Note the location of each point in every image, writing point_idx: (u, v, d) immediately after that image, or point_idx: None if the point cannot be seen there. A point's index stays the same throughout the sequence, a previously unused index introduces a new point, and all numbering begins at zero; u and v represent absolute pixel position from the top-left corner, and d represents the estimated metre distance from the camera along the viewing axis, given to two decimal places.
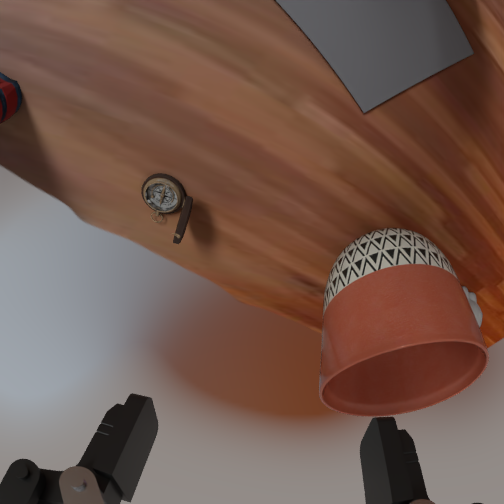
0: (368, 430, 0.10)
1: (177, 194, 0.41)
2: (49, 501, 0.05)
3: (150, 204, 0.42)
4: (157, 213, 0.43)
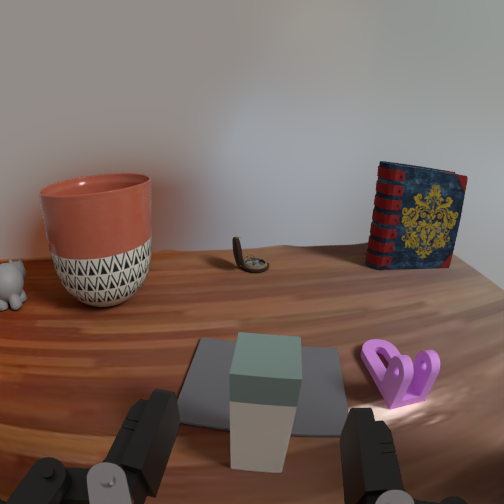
0: (347, 421, 0.10)
1: (247, 265, 0.69)
2: (75, 500, 0.06)
3: (258, 258, 0.72)
4: (251, 257, 0.73)
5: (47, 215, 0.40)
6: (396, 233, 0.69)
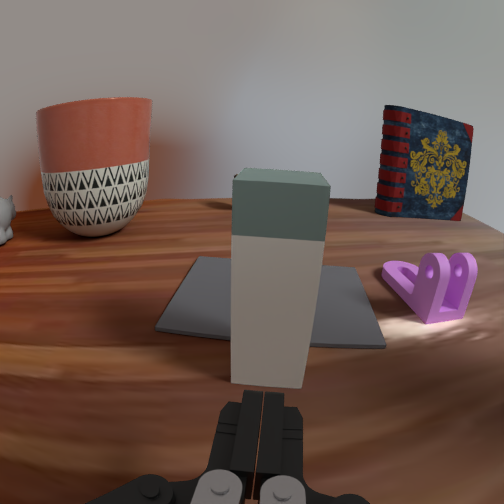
0: None
1: None
2: None
3: None
4: None
5: (42, 128, 0.36)
6: (405, 177, 0.64)
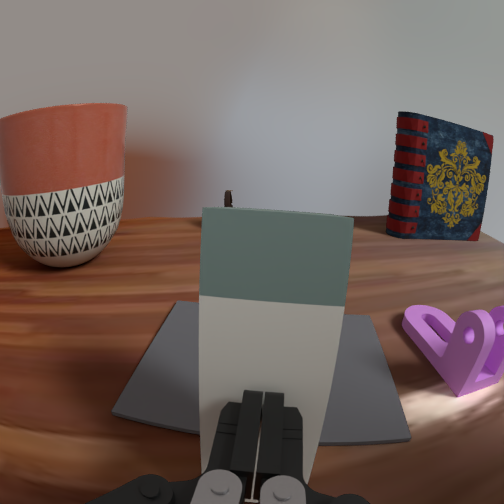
0: None
1: None
2: None
3: None
4: None
5: None
6: (421, 194, 0.56)
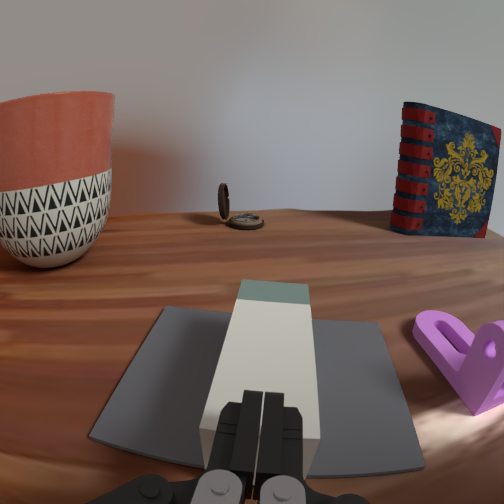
0: None
1: (233, 219, 0.54)
2: None
3: (254, 216, 0.57)
4: None
5: None
6: (428, 188, 0.52)
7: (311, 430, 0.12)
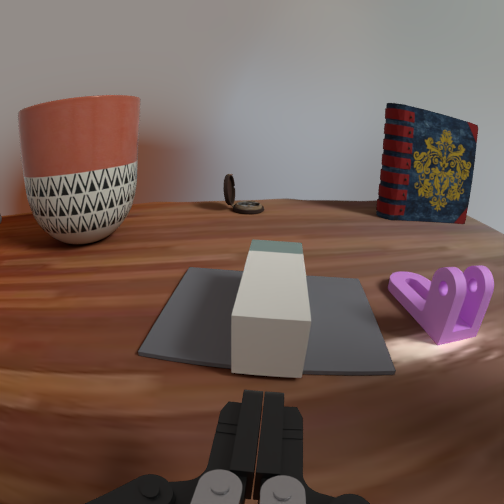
0: None
1: (237, 205, 0.63)
2: None
3: (256, 203, 0.66)
4: None
5: (23, 130, 0.32)
6: (408, 179, 0.61)
7: (305, 316, 0.20)
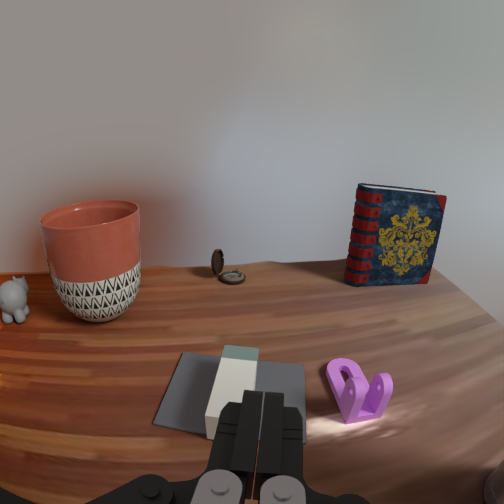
0: None
1: (223, 275, 0.77)
2: None
3: (240, 272, 0.79)
4: (236, 270, 0.81)
5: (46, 243, 0.46)
6: (373, 252, 0.74)
7: None
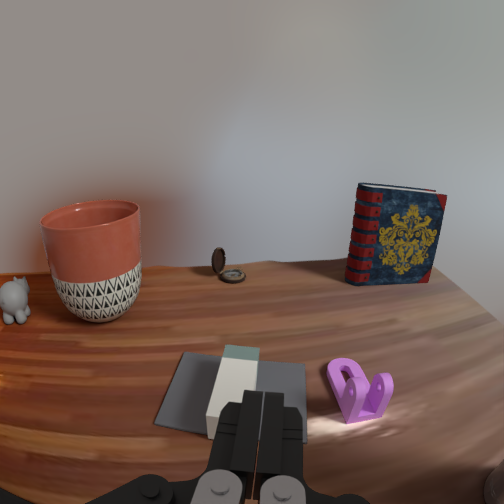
0: None
1: (223, 274, 0.78)
2: None
3: (240, 271, 0.80)
4: (238, 269, 0.81)
5: (47, 243, 0.46)
6: (373, 251, 0.74)
7: None
